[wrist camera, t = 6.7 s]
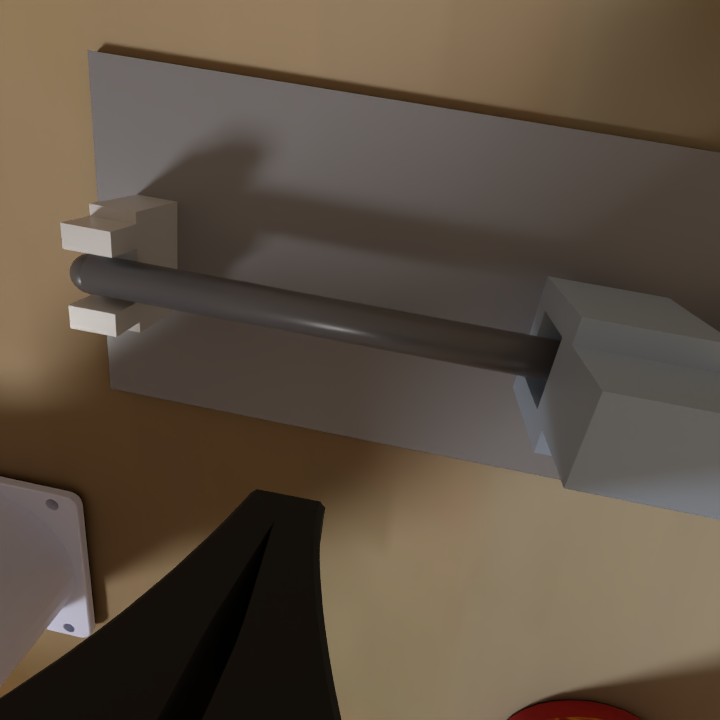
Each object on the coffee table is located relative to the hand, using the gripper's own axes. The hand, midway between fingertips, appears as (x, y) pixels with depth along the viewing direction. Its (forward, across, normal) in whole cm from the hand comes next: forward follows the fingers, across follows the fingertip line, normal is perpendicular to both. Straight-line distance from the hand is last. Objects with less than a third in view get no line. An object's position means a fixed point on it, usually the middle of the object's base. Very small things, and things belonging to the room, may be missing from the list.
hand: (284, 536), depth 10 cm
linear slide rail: (+7, -3, -3) cm, 8 cm away
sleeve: (+6, -6, -3) cm, 9 cm away
